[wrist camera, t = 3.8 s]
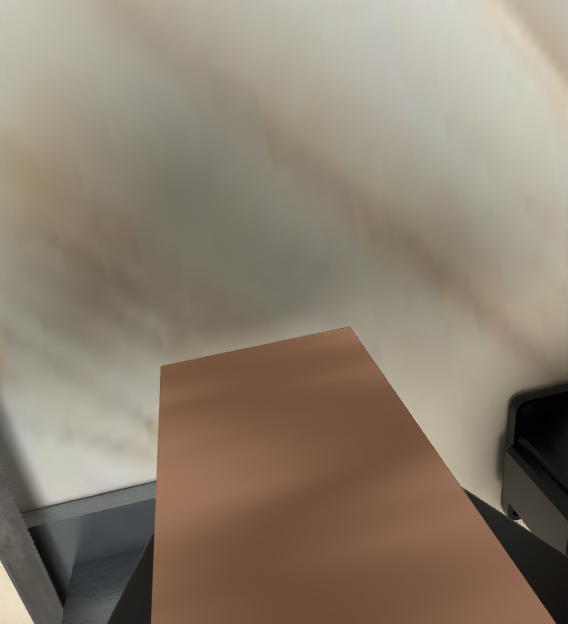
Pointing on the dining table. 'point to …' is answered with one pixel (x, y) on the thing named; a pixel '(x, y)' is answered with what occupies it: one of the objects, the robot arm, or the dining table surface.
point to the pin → (314, 500)
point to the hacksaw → (26, 562)
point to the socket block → (92, 548)
